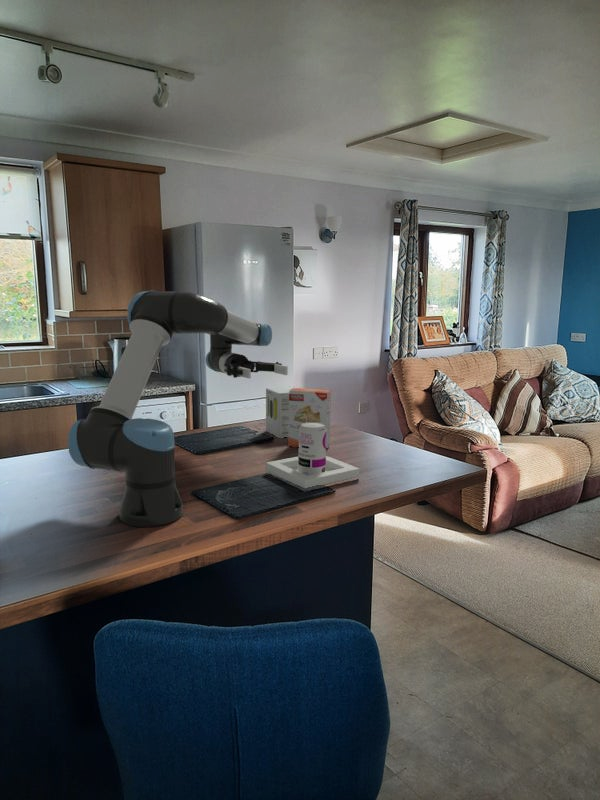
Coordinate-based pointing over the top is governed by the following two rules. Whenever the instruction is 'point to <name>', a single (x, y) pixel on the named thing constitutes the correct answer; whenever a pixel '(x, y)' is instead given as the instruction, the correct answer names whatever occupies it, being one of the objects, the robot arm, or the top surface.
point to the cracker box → (308, 411)
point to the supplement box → (278, 410)
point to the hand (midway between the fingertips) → (268, 372)
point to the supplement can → (312, 448)
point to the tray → (333, 474)
